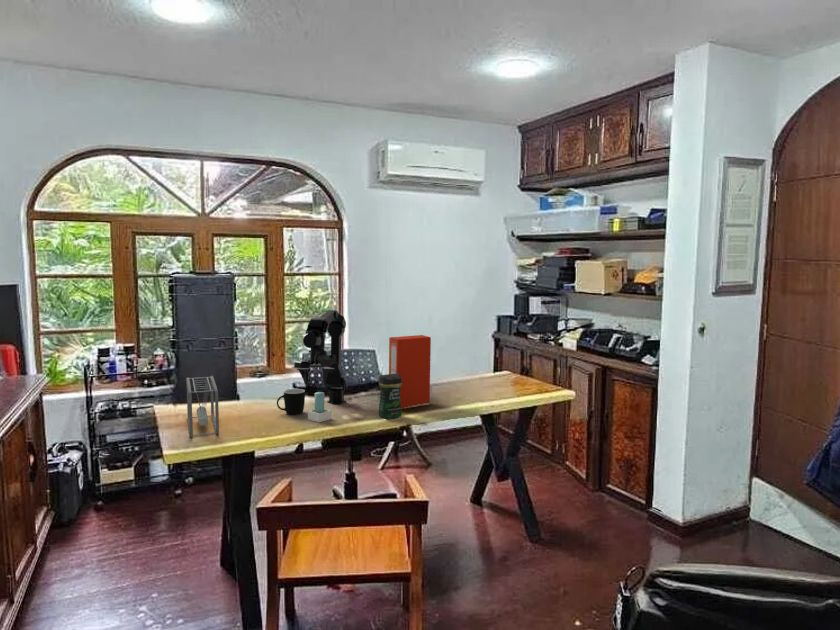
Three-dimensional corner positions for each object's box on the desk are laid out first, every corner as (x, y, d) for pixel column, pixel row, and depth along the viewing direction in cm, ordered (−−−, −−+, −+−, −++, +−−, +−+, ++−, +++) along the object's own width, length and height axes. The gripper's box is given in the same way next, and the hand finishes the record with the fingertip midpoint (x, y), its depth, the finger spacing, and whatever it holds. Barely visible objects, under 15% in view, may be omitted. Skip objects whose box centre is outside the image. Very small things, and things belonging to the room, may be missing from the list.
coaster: (353, 413, 255) (353, 412, 255) (370, 418, 249) (370, 416, 249) (336, 418, 247) (336, 417, 247) (353, 423, 241) (353, 421, 241)
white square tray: (320, 416, 250) (320, 407, 249) (331, 419, 245) (331, 410, 245) (308, 420, 244) (307, 411, 244) (319, 423, 240) (318, 413, 240)
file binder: (429, 405, 270) (430, 337, 267) (397, 410, 261) (397, 339, 258) (420, 401, 277) (421, 334, 273) (388, 406, 268) (389, 337, 264)
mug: (303, 410, 259) (303, 388, 258) (306, 415, 251) (306, 392, 250) (275, 412, 255) (275, 389, 254) (278, 418, 247) (277, 394, 246)
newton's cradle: (187, 417, 246) (186, 376, 244) (213, 415, 250) (212, 374, 248) (189, 439, 219) (188, 392, 217) (219, 435, 223) (218, 390, 221)
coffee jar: (384, 420, 245) (384, 377, 243) (375, 416, 252) (376, 373, 250) (404, 417, 250) (404, 374, 248) (395, 413, 257) (395, 371, 255)
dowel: (320, 417, 248) (319, 391, 246) (326, 418, 245) (326, 393, 244) (312, 419, 244) (312, 393, 243) (319, 420, 242) (319, 394, 241)
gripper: (309, 348, 232) (307, 387, 231) (347, 349, 245) (345, 386, 245) (294, 347, 240) (292, 385, 239) (331, 348, 253) (329, 384, 252)
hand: (315, 385), depth 244 cm, fingers open, 9 cm apart
